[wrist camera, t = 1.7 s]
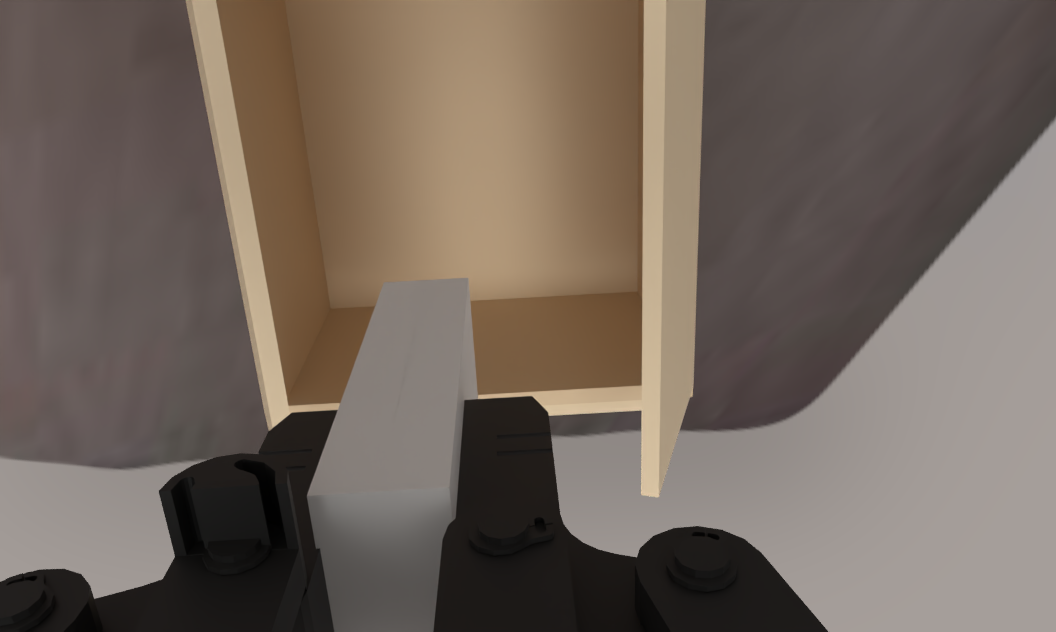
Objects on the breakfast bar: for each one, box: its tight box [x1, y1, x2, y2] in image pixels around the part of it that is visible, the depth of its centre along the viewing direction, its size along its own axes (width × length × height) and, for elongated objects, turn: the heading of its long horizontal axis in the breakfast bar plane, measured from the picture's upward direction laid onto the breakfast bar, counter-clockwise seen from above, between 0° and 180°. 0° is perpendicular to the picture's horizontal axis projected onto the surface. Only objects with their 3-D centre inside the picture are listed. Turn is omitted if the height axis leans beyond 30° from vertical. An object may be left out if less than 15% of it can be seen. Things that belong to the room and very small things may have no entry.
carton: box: [216, 0, 693, 416], centre depth 32 cm, size 19×16×10 cm
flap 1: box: [186, 0, 290, 431], centre depth 24 cm, size 16×1×7 cm, turn 3°
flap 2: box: [641, 0, 706, 497], centre depth 24 cm, size 16×1×7 cm, turn 3°
